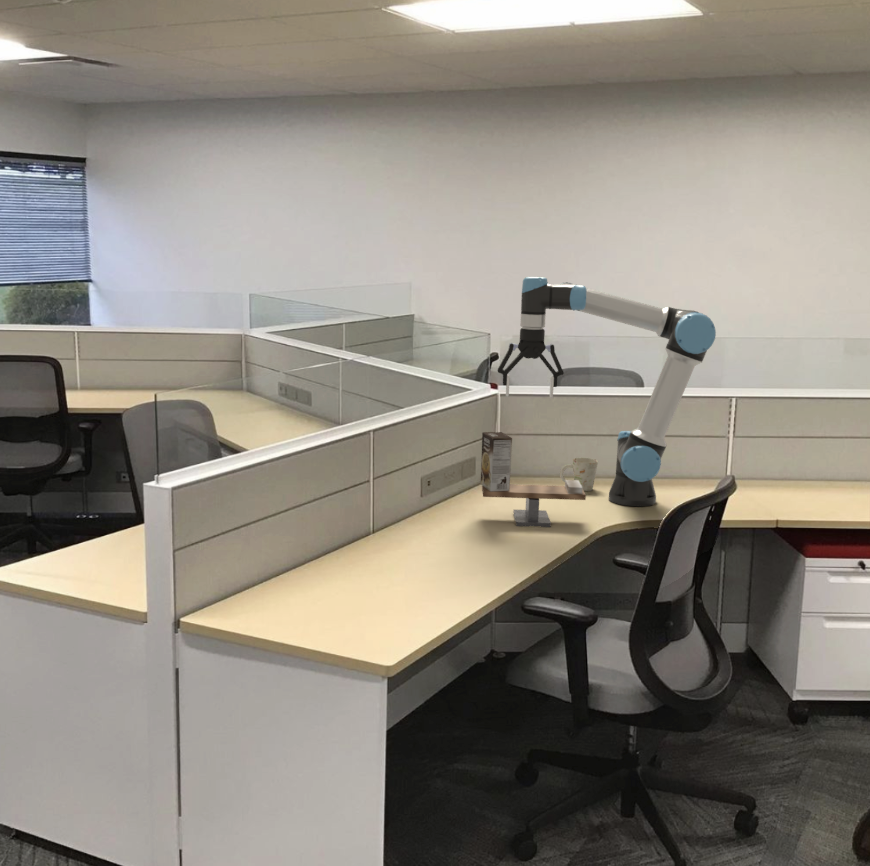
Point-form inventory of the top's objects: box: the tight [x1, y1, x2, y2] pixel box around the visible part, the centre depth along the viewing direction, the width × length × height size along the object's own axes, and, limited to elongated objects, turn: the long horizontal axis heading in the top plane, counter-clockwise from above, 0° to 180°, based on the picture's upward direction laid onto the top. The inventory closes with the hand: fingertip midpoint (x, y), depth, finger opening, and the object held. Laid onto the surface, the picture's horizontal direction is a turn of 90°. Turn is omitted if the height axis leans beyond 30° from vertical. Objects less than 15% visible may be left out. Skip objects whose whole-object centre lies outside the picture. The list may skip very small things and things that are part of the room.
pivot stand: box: [512, 498, 552, 528], centre depth 300 cm, size 10×14×8 cm
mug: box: [559, 457, 599, 492], centre depth 340 cm, size 8×13×10 cm, turn 89°
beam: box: [481, 479, 587, 501], centre depth 299 cm, size 30×10×4 cm, turn 89°
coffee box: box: [480, 431, 513, 492], centre depth 297 cm, size 9×6×16 cm
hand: (529, 396), depth 311 cm, fingers open, 13 cm apart
